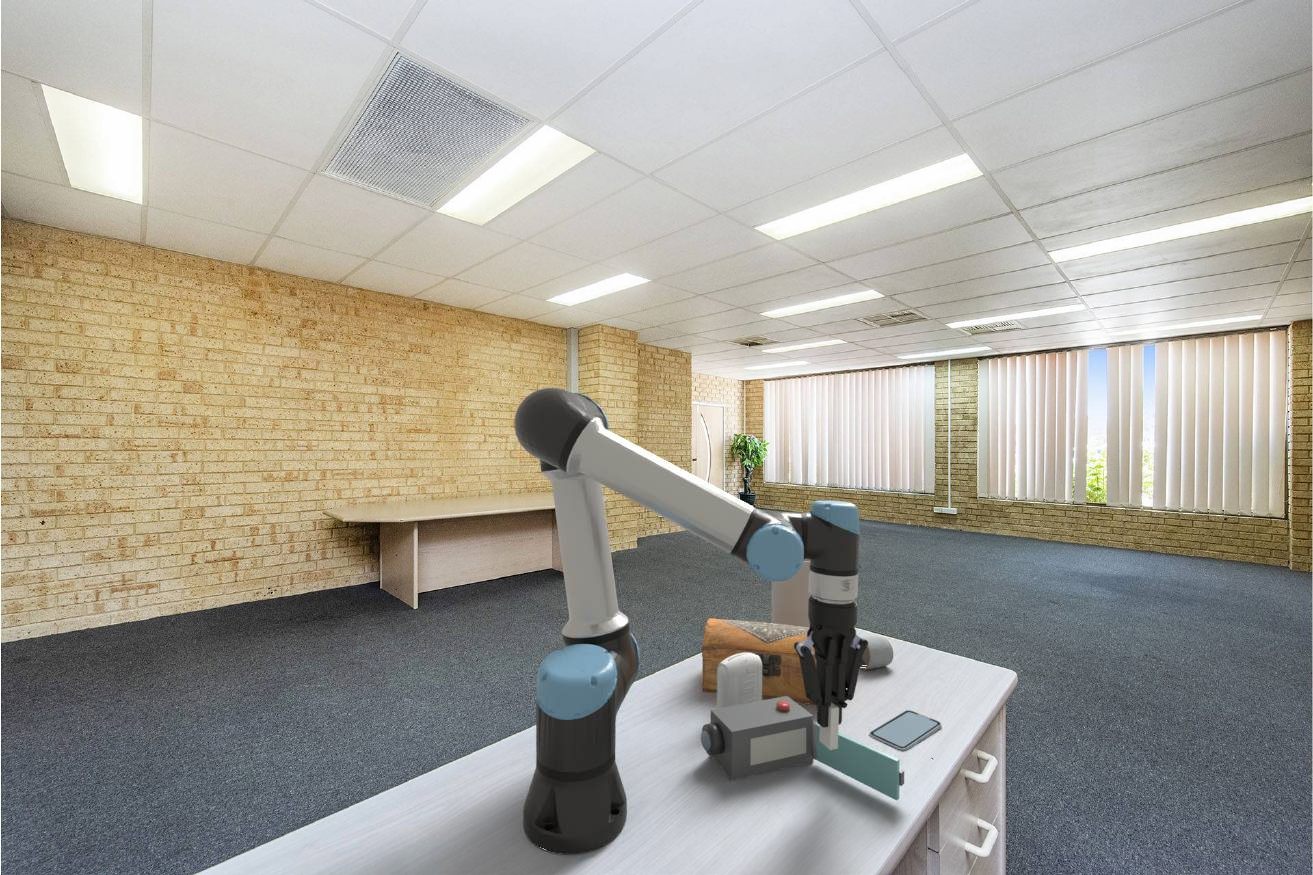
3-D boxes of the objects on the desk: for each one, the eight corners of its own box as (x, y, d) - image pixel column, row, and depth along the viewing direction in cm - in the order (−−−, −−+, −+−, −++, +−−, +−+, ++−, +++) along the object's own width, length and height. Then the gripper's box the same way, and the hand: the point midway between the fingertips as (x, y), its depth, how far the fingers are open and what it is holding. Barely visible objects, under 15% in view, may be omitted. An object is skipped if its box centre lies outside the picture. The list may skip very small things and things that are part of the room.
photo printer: (750, 704, 117) (751, 646, 117) (765, 712, 113) (765, 652, 113) (713, 717, 111) (713, 656, 111) (727, 726, 107) (727, 663, 107)
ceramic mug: (896, 669, 135) (895, 638, 135) (870, 674, 132) (869, 642, 132) (865, 655, 145) (864, 626, 145) (840, 659, 142) (840, 629, 142)
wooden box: (699, 694, 122) (699, 631, 122) (712, 665, 138) (712, 610, 138) (841, 712, 113) (841, 645, 114) (837, 680, 129) (837, 621, 130)
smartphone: (866, 733, 105) (907, 708, 114) (866, 738, 105) (907, 713, 114) (903, 750, 99) (943, 723, 108) (904, 755, 99) (943, 727, 108)
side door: (904, 796, 85) (904, 757, 85) (898, 801, 83) (898, 762, 83) (818, 754, 96) (818, 719, 96) (811, 758, 95) (812, 723, 95)
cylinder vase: (790, 637, 157) (791, 550, 157) (828, 650, 147) (828, 557, 148) (762, 647, 149) (762, 555, 150) (799, 661, 140) (799, 563, 140)
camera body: (717, 783, 89) (717, 729, 89) (697, 757, 97) (697, 707, 97) (813, 761, 95) (813, 711, 96) (787, 738, 103) (787, 691, 103)
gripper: (813, 607, 82) (808, 764, 82) (882, 601, 87) (877, 750, 87) (784, 593, 89) (780, 738, 89) (849, 588, 94) (846, 726, 94)
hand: (828, 744), depth 88 cm, fingers closed
